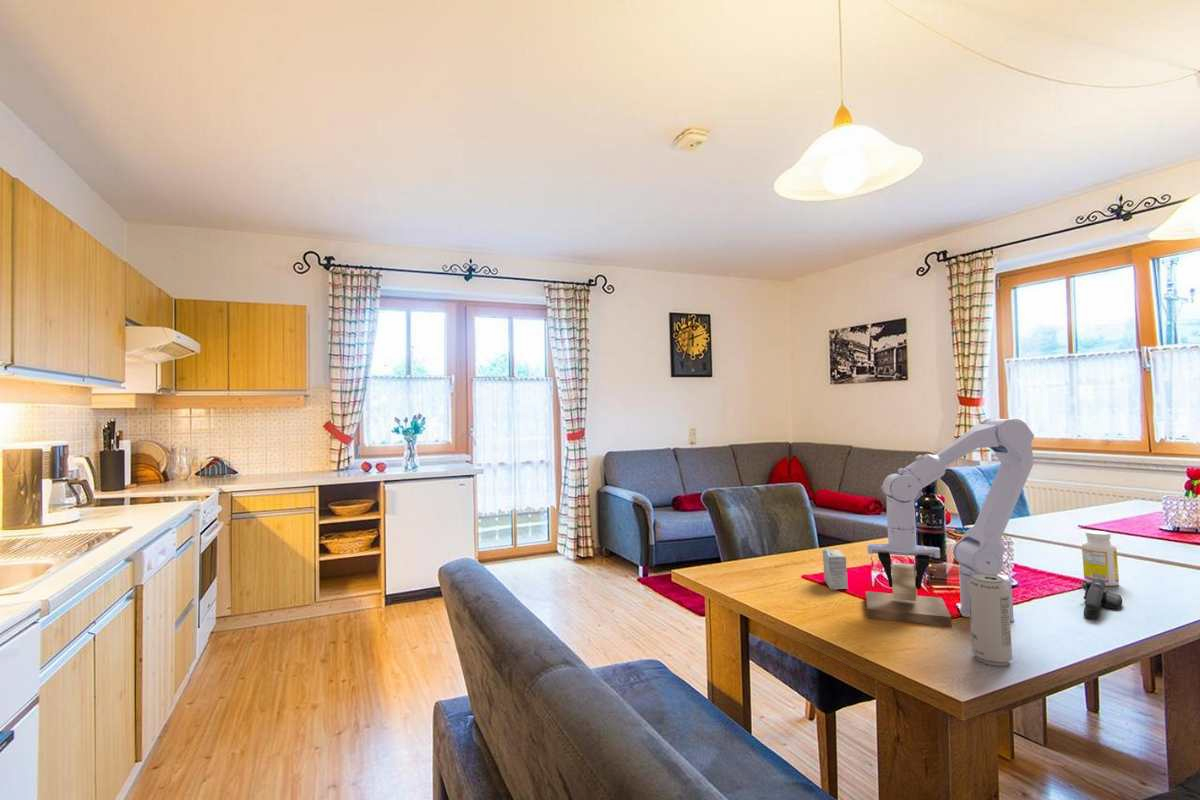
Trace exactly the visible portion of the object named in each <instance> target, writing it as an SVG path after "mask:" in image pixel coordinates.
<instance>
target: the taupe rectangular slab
mask: <svg viewBox="0 0 1200 800" xmlns="http://www.w3.org/2000/svg"><path fill="white" fill-rule="evenodd" d="M865 601H866V602H865V604H866V610H867V611H866V612H867V618H868V619H875V620H881V621H882V620H884V621H893V622H905V623H913V624H923V625H934V626H942V627H943V626H944V627H952V626H953V625H952V624H953V622H952V621H953V620H952V615H951V614H950V612H949V609H948V608H947V606H946V603H945V602H944V599H943V598H942V597H939V596H938V597H937V596H926V595H917V598H916V601H910V600H902V599H894V598H893V592H892V593H890V592H889V593H888V592H880V591H879V592H878V591H865Z"/></svg>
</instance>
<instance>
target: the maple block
mask: <svg viewBox="0 0 1200 800" xmlns="http://www.w3.org/2000/svg"><path fill="white" fill-rule="evenodd" d="M891 575H892V586H893V587H892V594H893V598H894V599H902V600H910V601H916V598H917V596H918V589H917V587H916V564H913V563H902V562H892V563H891Z"/></svg>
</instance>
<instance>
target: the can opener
mask: <svg viewBox="0 0 1200 800" xmlns="http://www.w3.org/2000/svg"><path fill="white" fill-rule="evenodd" d="M1080 587H1082V589H1083V590H1084V591H1085V592H1084V595H1083V600H1085V601H1084V607H1083V616H1084V618H1086V619H1087V620H1091V621H1096V620H1097V619H1098V617H1100V613H1101V608H1102V605H1103V607H1104V608H1107V609H1114V610H1120V608H1121V607H1122V605H1123V598H1122V595H1120V594H1118V593H1116V592H1113V591H1110V590H1106V591H1105V587H1106V586H1105V583H1104V582H1103V581H1102V580H1101V579H1095V580H1093V581H1092V582H1087V581H1084V582H1083V581H1081V585H1080Z"/></svg>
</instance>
